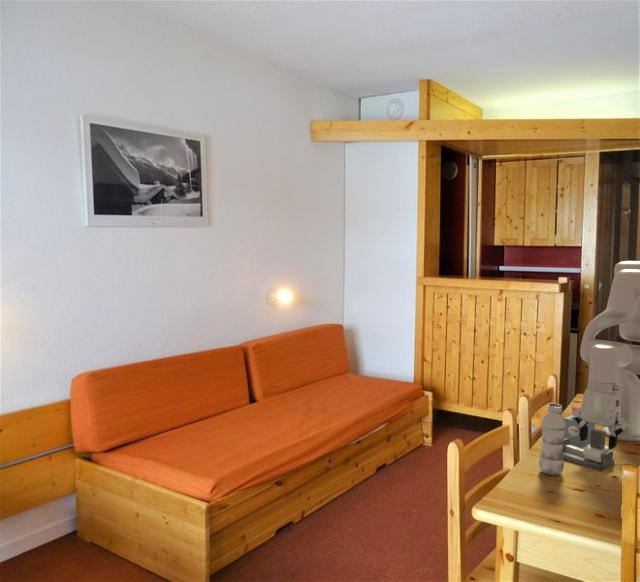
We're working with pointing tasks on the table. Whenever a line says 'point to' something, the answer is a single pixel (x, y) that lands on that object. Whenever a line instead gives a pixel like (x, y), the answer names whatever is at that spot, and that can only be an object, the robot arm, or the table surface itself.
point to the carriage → (596, 446)
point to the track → (577, 457)
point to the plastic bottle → (552, 441)
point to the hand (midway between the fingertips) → (597, 443)
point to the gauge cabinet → (576, 432)
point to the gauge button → (576, 408)
